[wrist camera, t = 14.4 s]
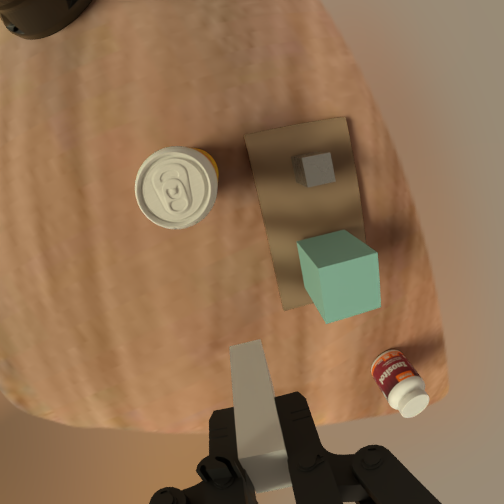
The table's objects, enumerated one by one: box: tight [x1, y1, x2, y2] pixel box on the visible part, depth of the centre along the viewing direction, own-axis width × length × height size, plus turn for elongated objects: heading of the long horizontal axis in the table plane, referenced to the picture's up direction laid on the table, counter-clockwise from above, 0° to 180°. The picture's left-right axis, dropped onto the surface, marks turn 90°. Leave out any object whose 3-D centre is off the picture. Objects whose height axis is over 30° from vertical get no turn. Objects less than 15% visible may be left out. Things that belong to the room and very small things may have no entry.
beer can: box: [135, 146, 219, 229], centre depth 28 cm, size 6×6×15 cm
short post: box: [291, 152, 336, 187], centre depth 33 cm, size 3×3×5 cm
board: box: [244, 117, 366, 311], centre depth 38 cm, size 22×12×1 cm, turn 13°
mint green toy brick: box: [296, 229, 381, 324], centre depth 34 cm, size 6×6×9 cm
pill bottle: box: [371, 350, 429, 418], centre depth 42 cm, size 6×6×11 cm
